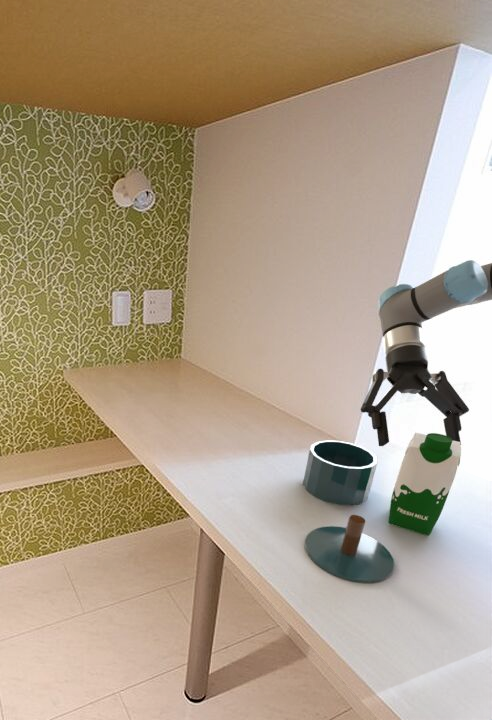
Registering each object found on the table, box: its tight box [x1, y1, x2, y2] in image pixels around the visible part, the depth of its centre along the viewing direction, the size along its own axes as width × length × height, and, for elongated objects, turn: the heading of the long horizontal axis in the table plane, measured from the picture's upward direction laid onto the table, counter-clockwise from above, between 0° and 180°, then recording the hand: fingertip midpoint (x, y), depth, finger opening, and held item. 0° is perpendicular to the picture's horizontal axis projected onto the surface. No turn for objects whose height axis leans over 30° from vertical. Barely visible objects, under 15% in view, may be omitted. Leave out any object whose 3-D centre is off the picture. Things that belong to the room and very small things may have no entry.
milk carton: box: [388, 432, 462, 537], centre depth 84 cm, size 9×9×20 cm
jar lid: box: [304, 514, 395, 584], centre depth 77 cm, size 15×15×8 cm
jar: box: [302, 439, 378, 506], centre depth 97 cm, size 14×14×10 cm
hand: (419, 445), depth 86 cm, fingers open, 13 cm apart
